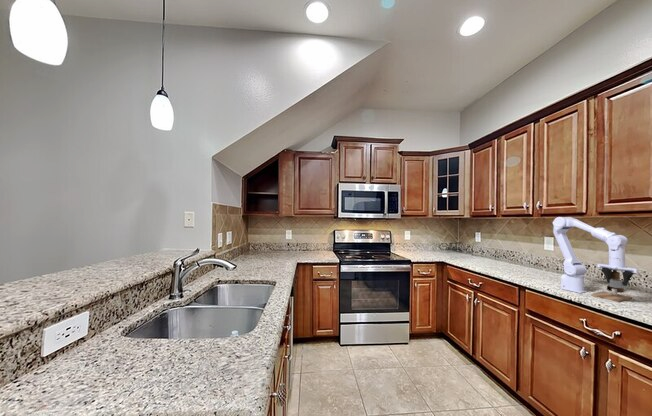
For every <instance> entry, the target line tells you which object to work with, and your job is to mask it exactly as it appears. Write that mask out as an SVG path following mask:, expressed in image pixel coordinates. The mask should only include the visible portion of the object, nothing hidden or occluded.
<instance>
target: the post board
mask: <svg viewBox="0 0 652 416" xmlns="http://www.w3.org/2000/svg"><path fill="white" fill-rule="evenodd" d="M590 296H591V297H596V298H598V297H599V298H598V299H604V300H608V301H613V302H616V303H622V302H626V301H629V300H633V297H632V296H629V295H624V294H619V293H618V292H617V289H612V291H609V292H608V291H606V290H605V291H604V290H603V291H599V292H594V293H591V294H590Z"/></svg>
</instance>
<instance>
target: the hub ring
mask: <svg viewBox="0 0 652 416" xmlns="http://www.w3.org/2000/svg"><path fill="white" fill-rule="evenodd" d="M608 285H609V286H610V287H614V288H623V289H624V290H625V289H626V286H624V285H623V280H622V279H620V280H619V279H609V283H608Z"/></svg>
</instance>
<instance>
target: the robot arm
mask: <svg viewBox="0 0 652 416" xmlns="http://www.w3.org/2000/svg"><path fill="white" fill-rule="evenodd" d="M552 225H553V227H552V229H553V230H552V233H553V236H554V237H555V240H556V242H557V244H558V247H559V249H560V251H561V254H562V256H563V258H564V261H563V263H562V264H563V271H564V274H562V275H561V277H560V283H561V284H560V286H561V287H560V289H561V290H565V291H569V292H573V293H579V294H583V293H588V290H585V277H584V276H585V274H586V273H587V267H586V266H585V265H584V264H583V263H582V261H581V260H580V259H578V258H577V256H576V254H575V251H574V249H573V246H572V245H571V242H570V240H569V238H568V235H567V232H568V231H569V230H570V229H572V228H573V227H575V228H577V229H580V230H583V231H585V232H588V233H590V234H591V236H592V237H593V238H596V239H598V240H600V241H602V242H604V243H606V244H607V246H608V264H606V263H605V264H604V263H603V264H602V263H597V268H599V269H600V270H601V272H602V273H603V275H604V277H605V279H606V282H607V283H608V284H609V279H611V272H612V271H613V270H617V271H618V272H622V277H623V285H624V286H625V287H627V286H628V285H629V281H631V278H632V277H633V275H634V274H639V268H633V267H628V266H626V245H627V244H628V242H629V241H628V238H627V237H626V236H624V235H623V234H616V232H611V231H609V230H606V228H605V227H593V226H591V225H590V224H588V223H585V222H583V221H581V220H579V219H578V218H574V217H572V216H565V217H564V216H558V217H556V218H554V219H553V221H552ZM613 268H614V269H613Z"/></svg>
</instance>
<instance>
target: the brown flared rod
mask: <svg viewBox="0 0 652 416" xmlns="http://www.w3.org/2000/svg"><path fill="white" fill-rule="evenodd" d="M613 269H614V268H613ZM611 279H619V280H621V273H620V271H618V270H612V272H611ZM612 289H617V293H624V292H625V288H624V289H623V288H614V287H610V286H609V284H608V285H606V290H607V291H609V292H612Z"/></svg>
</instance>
